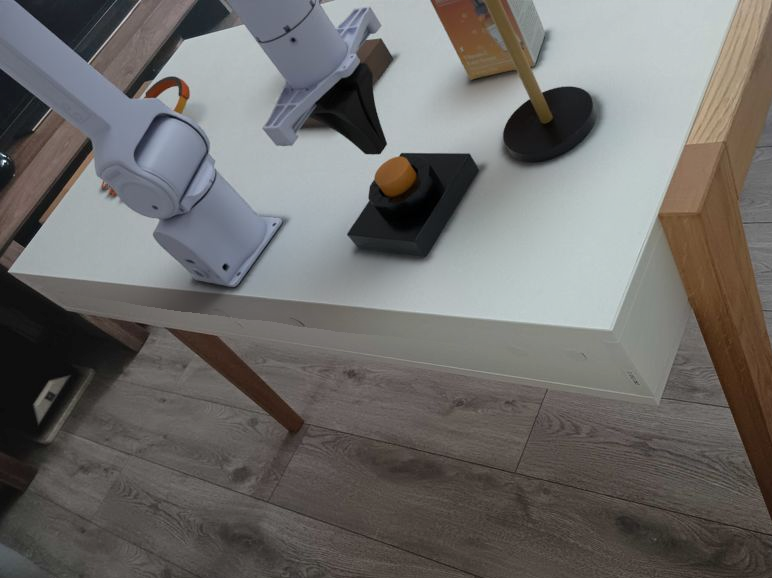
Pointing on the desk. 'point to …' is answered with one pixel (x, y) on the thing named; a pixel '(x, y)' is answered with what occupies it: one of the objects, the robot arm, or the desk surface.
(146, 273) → the desk surface
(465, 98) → the desk surface
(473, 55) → the small box
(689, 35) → the desk surface
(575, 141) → the desk lamp
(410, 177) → the lamp switch
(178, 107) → the headphones
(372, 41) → the dimmer panel
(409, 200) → the switch base
